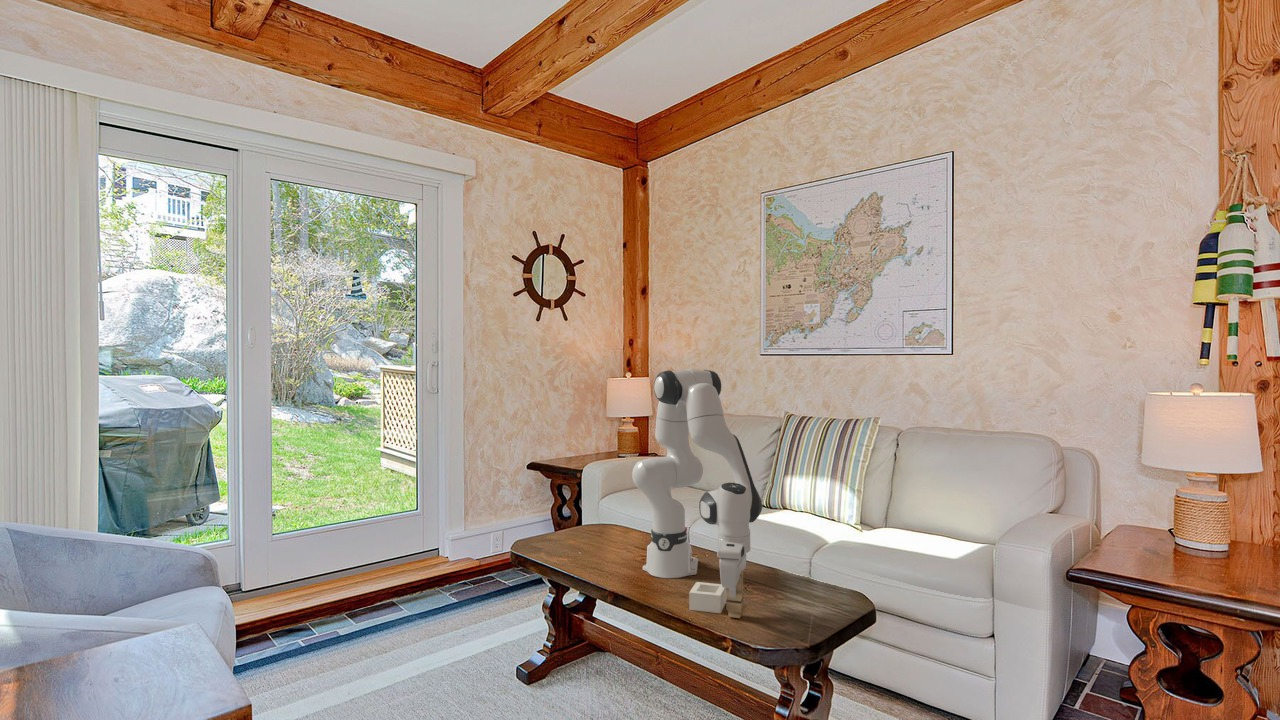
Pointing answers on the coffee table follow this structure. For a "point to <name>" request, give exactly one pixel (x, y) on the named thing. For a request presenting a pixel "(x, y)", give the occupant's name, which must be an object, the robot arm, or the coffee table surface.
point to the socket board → (707, 597)
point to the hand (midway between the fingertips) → (734, 593)
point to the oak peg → (735, 600)
